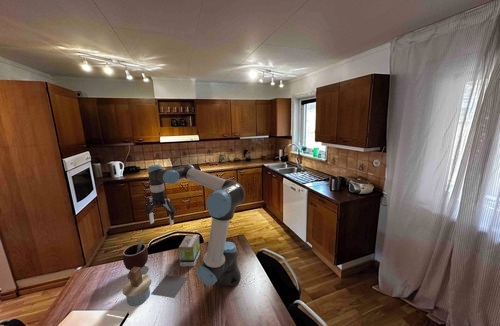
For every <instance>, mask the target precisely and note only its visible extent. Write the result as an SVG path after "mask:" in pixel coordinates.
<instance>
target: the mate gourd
mask: <svg viewBox="0 0 500 326" xmlns="http://www.w3.org/2000/svg"><path fill="white" fill-rule="evenodd" d="M144 239H145V238H144V237H142V239H141V240H140V241H139V242H138V243H135V244H131V245H129V246H128V247H126V248H125V249H124V250H123V252H122V263H123V265H124V267H125V269H127V270H128V271H130V270H131V269H132V268H133V267H141V273H142V275H147V273H148V272H149V271H150V270H149V269H150V268H149V267H148V266H147V265H146V264H147V262H148V260H149V251H148V248H147V245H146V244H145V243H144ZM127 279H128V280H130V277H129V272H128V273H127Z"/></svg>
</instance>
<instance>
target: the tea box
mask: <svg viewBox="0 0 500 326" xmlns="http://www.w3.org/2000/svg"><path fill="white" fill-rule="evenodd" d="M200 245H201V244H200V235H199V234H198V235H197V234H196V235H195V234H194V235H185V237H184V238H183V240H182V241H181V243H180V244H179V246H178V252H179V265H180V267H195V266H196V264H197V261H198V258H199V256H200V254H201V248H200V247H201V246H200Z"/></svg>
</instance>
